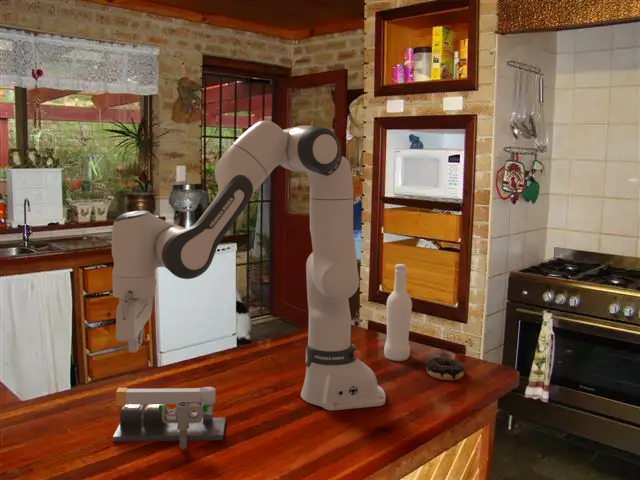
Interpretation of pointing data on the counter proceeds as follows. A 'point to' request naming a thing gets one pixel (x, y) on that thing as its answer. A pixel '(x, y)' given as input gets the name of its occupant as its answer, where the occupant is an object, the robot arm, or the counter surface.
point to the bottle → (398, 318)
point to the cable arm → (164, 396)
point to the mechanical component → (183, 416)
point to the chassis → (174, 430)
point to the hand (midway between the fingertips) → (135, 348)
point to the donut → (445, 369)
